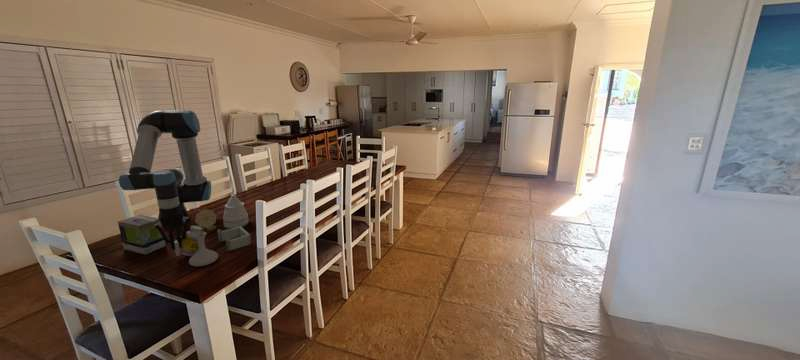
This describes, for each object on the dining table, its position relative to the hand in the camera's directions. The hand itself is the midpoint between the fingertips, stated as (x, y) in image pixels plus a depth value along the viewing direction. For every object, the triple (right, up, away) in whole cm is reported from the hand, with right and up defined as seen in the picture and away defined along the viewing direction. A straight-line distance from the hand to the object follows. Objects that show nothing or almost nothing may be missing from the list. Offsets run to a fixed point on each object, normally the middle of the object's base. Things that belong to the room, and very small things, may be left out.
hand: (178, 254), depth 142 cm
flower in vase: (+14, -3, -1) cm, 14 cm away
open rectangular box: (+17, +2, +17) cm, 24 cm away
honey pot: (+6, +9, +39) cm, 40 cm away
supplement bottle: (+3, 0, +3) cm, 4 cm away
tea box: (-23, +1, +9) cm, 25 cm away
